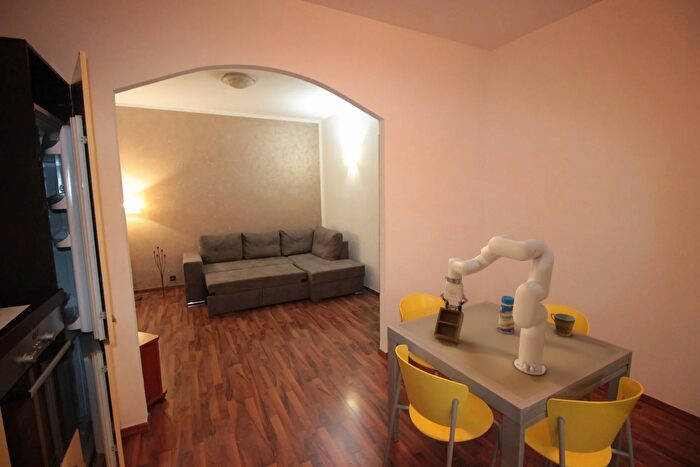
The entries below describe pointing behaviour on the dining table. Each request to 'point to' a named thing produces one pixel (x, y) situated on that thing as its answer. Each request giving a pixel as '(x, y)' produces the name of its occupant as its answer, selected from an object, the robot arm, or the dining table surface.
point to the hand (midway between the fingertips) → (453, 310)
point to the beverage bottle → (506, 315)
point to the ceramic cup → (563, 323)
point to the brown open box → (449, 324)
